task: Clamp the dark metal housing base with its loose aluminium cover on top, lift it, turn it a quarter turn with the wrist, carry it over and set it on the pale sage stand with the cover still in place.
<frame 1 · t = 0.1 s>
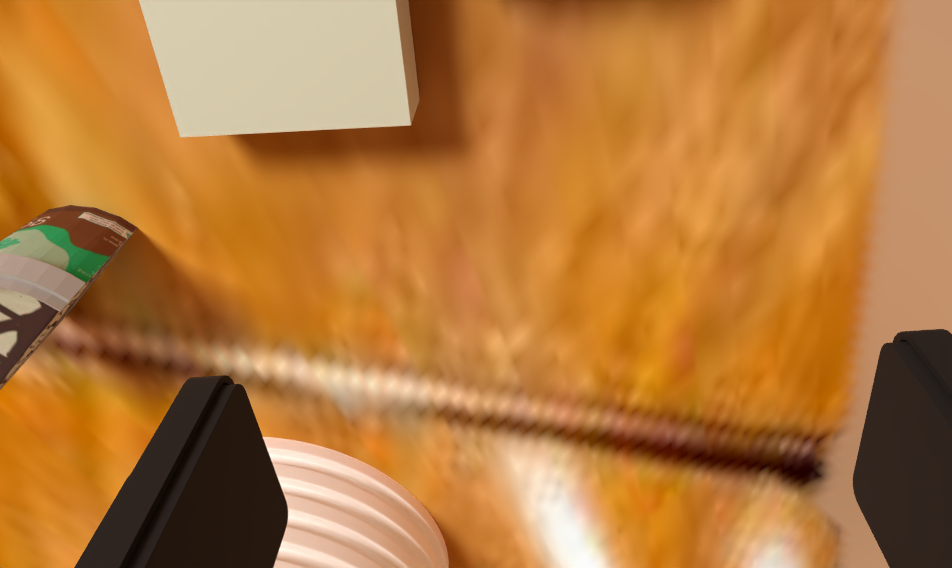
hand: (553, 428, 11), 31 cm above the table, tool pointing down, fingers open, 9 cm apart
plate stack: (285, 552, 63), on the table
food container: (59, 241, 47), on the table
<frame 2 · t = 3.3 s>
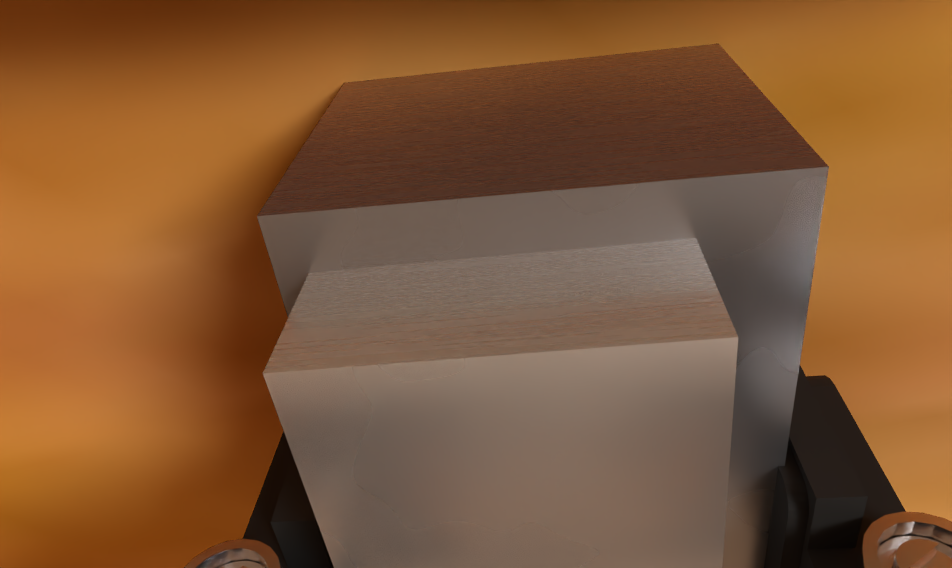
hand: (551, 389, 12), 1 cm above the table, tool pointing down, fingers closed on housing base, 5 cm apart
housing base: (550, 358, 12), on the table, touching gripper, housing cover
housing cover: (537, 555, 9), point 4 cm above the table, touching housing base
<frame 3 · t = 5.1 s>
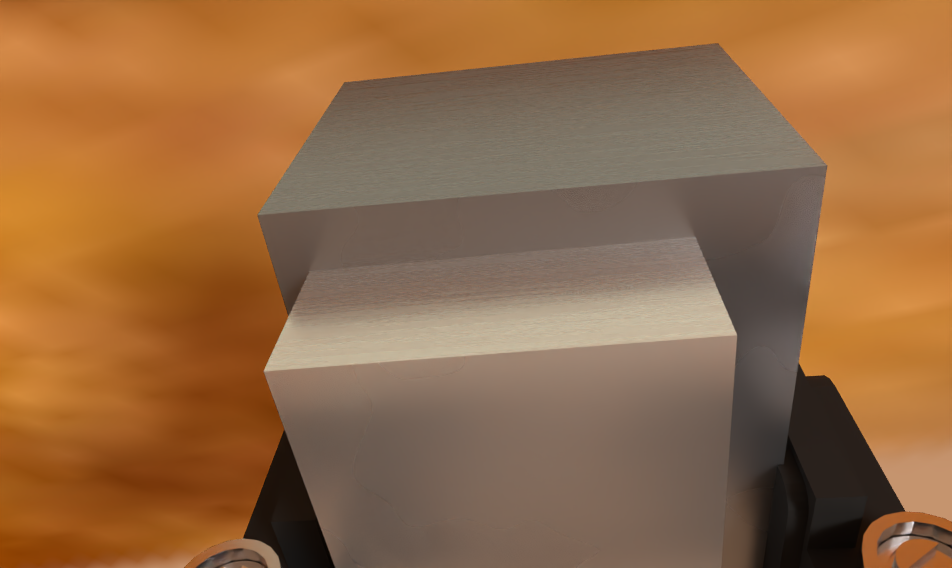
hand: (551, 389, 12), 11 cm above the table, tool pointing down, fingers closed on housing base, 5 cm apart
housing base: (550, 357, 12), point 10 cm above the table, touching gripper, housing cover
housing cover: (537, 554, 9), point 14 cm above the table, touching housing base
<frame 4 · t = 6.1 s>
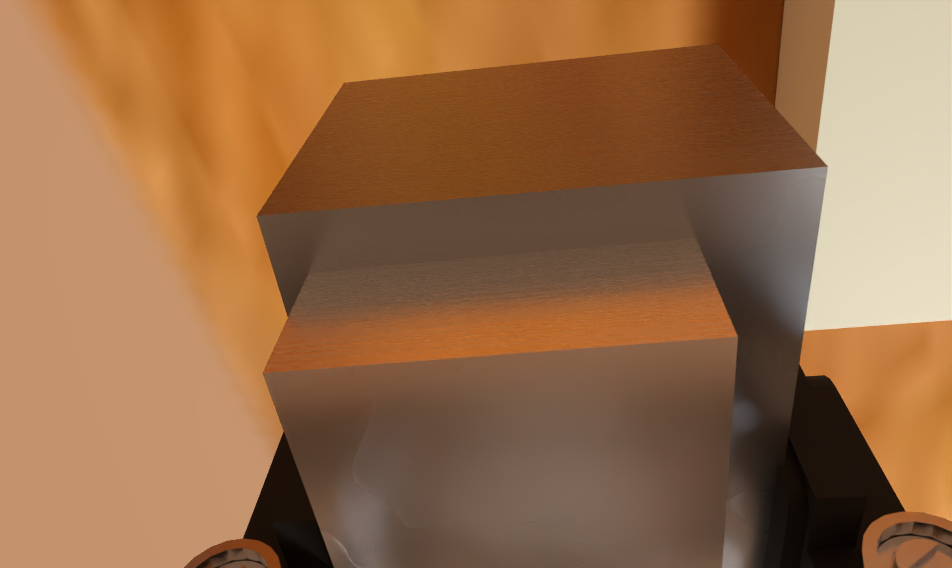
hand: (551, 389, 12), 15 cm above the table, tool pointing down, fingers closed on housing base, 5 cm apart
housing base: (550, 358, 12), point 15 cm above the table, touching gripper, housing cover
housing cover: (537, 555, 9), point 19 cm above the table, touching housing base
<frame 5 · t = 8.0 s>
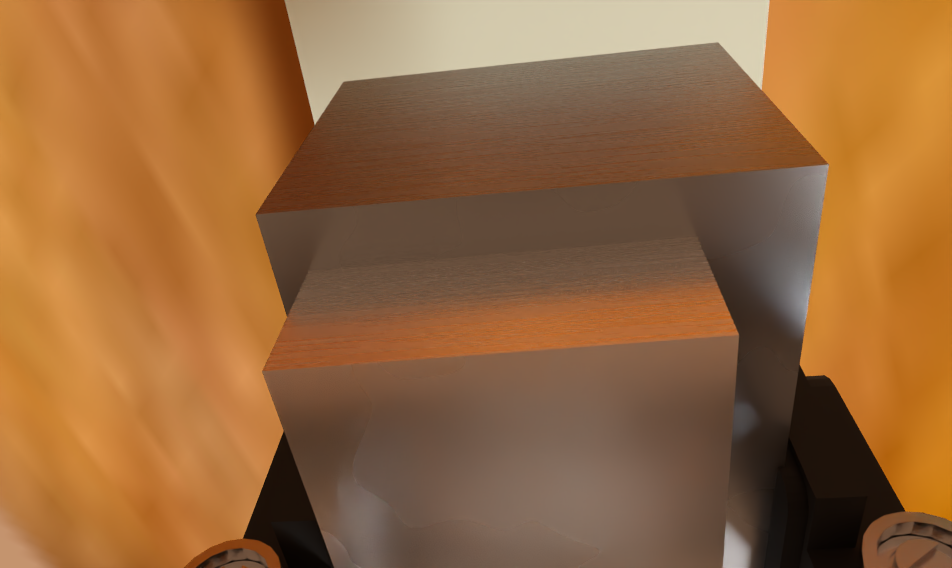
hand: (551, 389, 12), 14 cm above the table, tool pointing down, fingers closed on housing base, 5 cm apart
housing base: (550, 358, 12), point 13 cm above the table, touching gripper, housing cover
stand: (532, 106, 24), on the table
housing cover: (537, 555, 9), point 17 cm above the table, touching housing base
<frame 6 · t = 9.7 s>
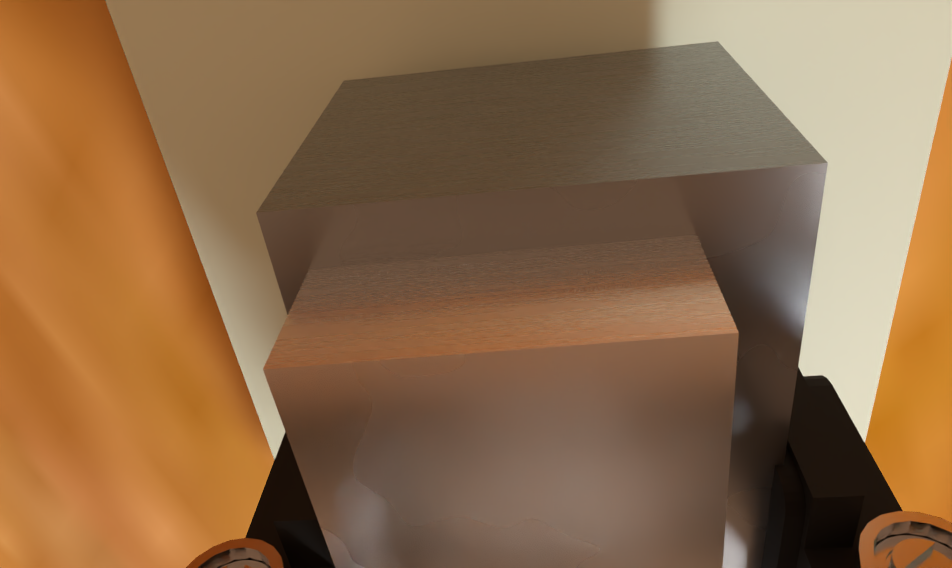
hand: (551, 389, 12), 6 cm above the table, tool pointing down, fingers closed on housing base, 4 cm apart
housing base: (549, 356, 12), point 5 cm above the table, touching gripper, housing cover
stand: (542, 217, 17), on the table
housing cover: (537, 553, 9), point 9 cm above the table, touching housing base
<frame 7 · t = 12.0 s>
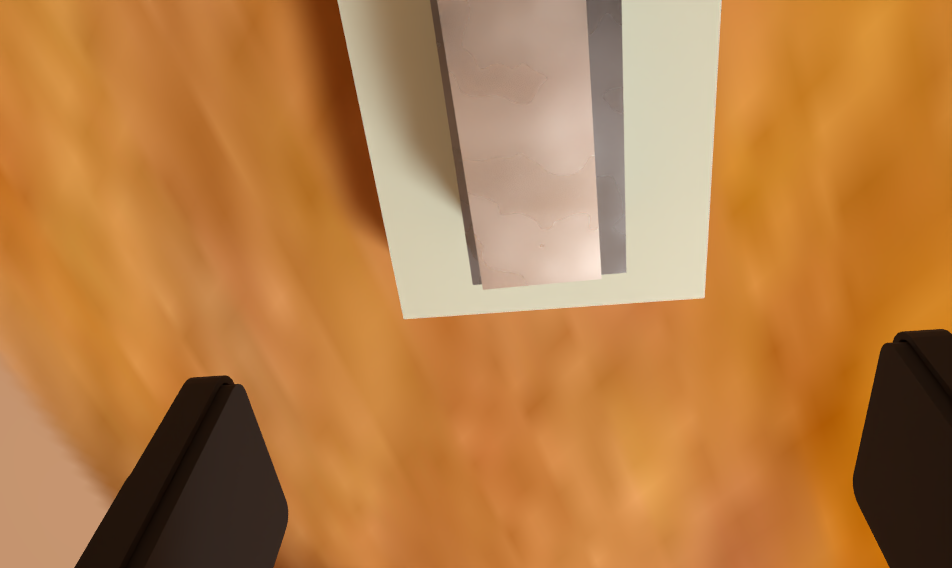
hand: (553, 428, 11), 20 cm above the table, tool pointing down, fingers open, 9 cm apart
housing base: (533, 90, 25), point 4 cm above the table, touching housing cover, stand
stand: (531, 55, 28), on the table
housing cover: (526, 132, 21), point 8 cm above the table, touching housing base
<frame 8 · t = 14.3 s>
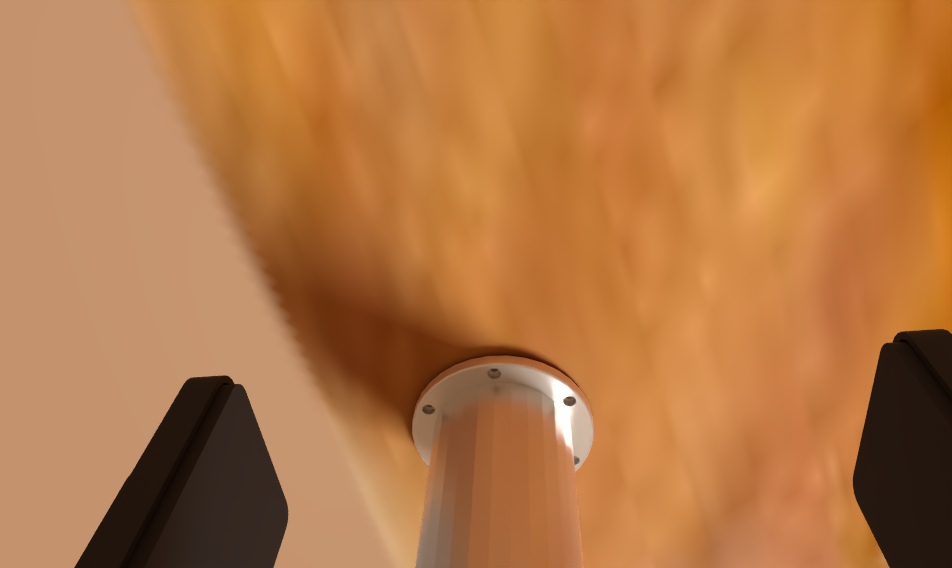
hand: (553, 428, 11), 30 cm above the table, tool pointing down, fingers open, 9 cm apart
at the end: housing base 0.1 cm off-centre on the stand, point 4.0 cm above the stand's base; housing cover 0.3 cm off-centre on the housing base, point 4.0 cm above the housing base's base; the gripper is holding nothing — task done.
